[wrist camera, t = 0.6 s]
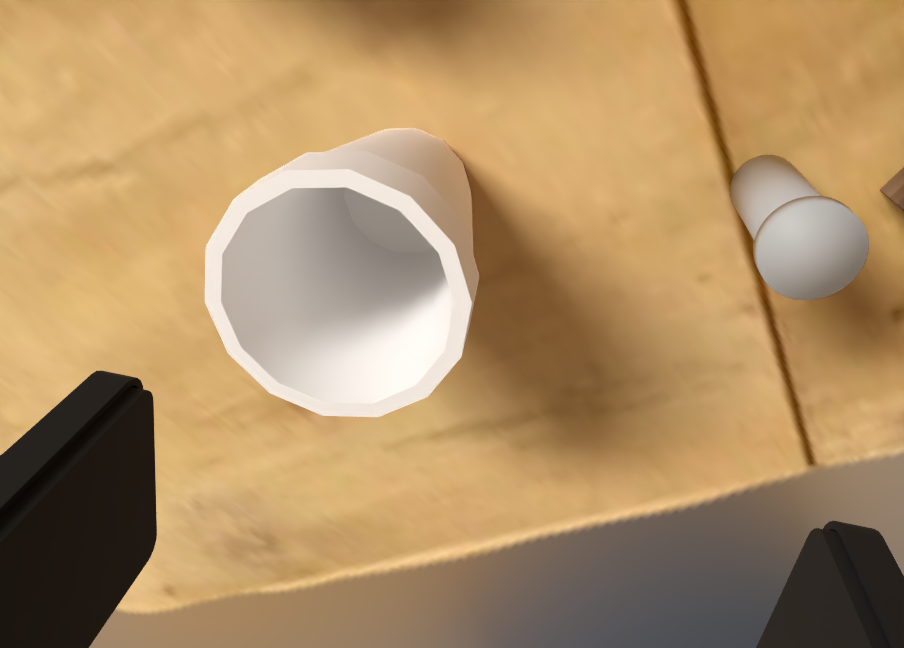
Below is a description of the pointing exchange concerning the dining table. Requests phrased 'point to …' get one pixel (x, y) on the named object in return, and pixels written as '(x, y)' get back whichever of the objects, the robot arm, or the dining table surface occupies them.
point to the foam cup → (349, 274)
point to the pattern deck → (895, 189)
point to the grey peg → (797, 230)
